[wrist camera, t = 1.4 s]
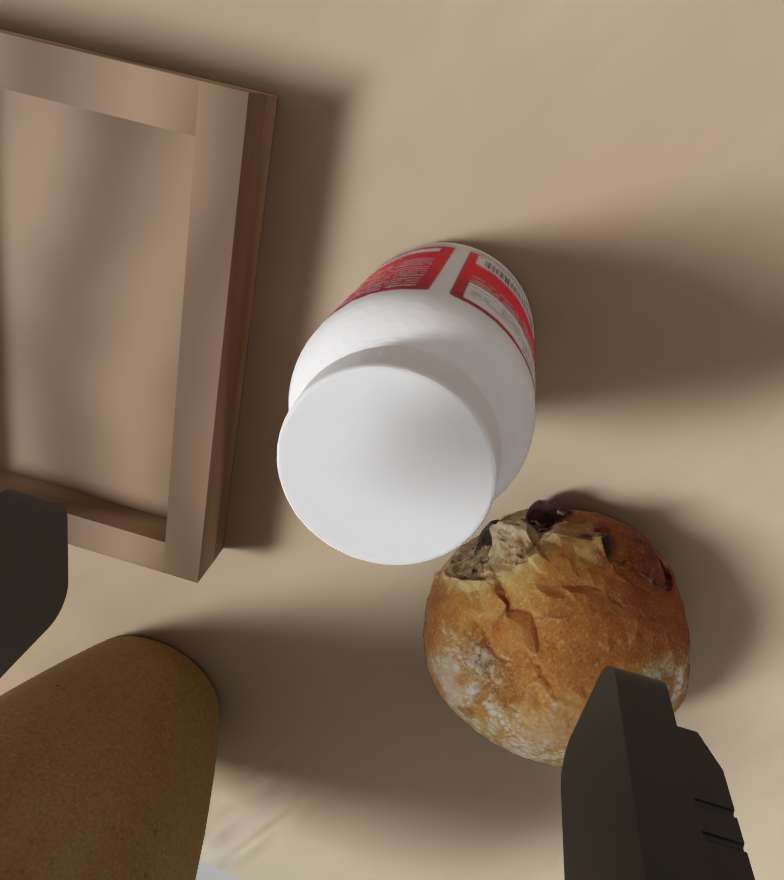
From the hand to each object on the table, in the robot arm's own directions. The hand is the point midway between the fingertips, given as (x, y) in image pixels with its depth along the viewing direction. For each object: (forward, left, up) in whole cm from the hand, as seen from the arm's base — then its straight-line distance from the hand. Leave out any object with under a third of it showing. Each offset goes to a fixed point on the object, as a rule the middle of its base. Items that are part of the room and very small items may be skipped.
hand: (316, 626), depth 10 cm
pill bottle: (0, 0, -16) cm, 16 cm away
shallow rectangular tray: (+13, +3, -16) cm, 21 cm away
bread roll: (-7, +10, -16) cm, 20 cm away
